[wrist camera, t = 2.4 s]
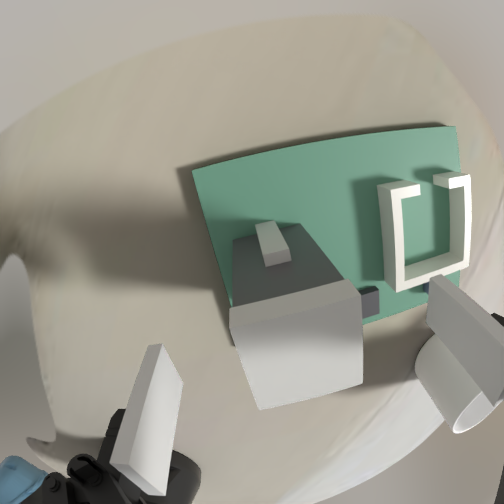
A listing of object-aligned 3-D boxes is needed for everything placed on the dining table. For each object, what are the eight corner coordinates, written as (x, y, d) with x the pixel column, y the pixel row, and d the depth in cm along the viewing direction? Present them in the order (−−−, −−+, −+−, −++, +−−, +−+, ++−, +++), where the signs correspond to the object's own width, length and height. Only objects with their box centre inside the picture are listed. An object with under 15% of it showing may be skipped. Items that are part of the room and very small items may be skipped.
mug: (464, 285, 26) (524, 334, 16) (489, 310, 28) (538, 354, 18) (400, 368, 29) (439, 432, 19) (433, 381, 31) (469, 434, 21)
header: (384, 280, 23) (396, 292, 21) (376, 185, 20) (390, 189, 18) (454, 257, 23) (468, 266, 21) (453, 171, 20) (469, 174, 18)
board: (246, 346, 26) (247, 368, 23) (193, 169, 21) (187, 173, 18) (451, 284, 26) (468, 298, 23) (447, 126, 20) (468, 126, 17)
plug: (247, 300, 23) (258, 410, 13) (228, 230, 21) (224, 315, 11) (312, 284, 23) (362, 383, 13) (300, 214, 21) (360, 281, 11)
